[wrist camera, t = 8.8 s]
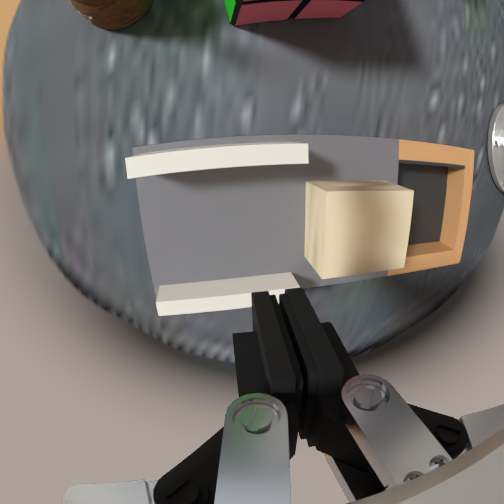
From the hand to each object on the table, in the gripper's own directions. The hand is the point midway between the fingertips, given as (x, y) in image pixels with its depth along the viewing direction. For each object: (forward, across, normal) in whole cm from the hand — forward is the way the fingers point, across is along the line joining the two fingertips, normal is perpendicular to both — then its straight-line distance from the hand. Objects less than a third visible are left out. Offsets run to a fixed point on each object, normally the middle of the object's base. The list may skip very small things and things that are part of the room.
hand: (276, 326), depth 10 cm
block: (+13, -8, +1) cm, 16 cm away
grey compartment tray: (+16, -8, 0) cm, 18 cm away
